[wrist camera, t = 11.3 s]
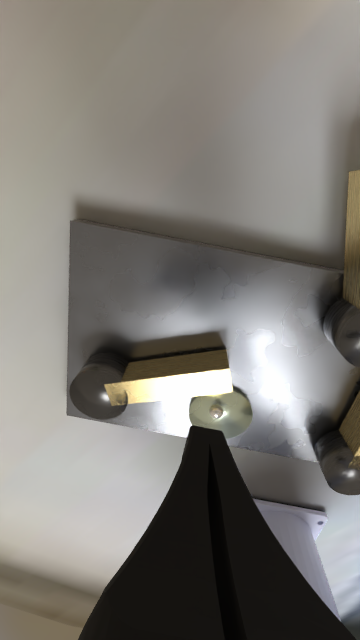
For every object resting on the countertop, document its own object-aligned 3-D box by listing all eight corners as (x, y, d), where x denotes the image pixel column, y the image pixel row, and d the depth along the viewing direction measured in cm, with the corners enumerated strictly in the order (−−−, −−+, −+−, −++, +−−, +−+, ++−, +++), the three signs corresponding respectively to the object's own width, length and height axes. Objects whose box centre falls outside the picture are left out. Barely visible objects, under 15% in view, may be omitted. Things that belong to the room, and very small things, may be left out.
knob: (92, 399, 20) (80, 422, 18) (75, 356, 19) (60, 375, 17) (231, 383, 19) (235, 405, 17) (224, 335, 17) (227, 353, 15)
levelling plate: (358, 458, 23) (374, 483, 21) (73, 404, 22) (60, 425, 20) (459, 292, 17) (494, 305, 15) (79, 219, 17) (62, 222, 15)
